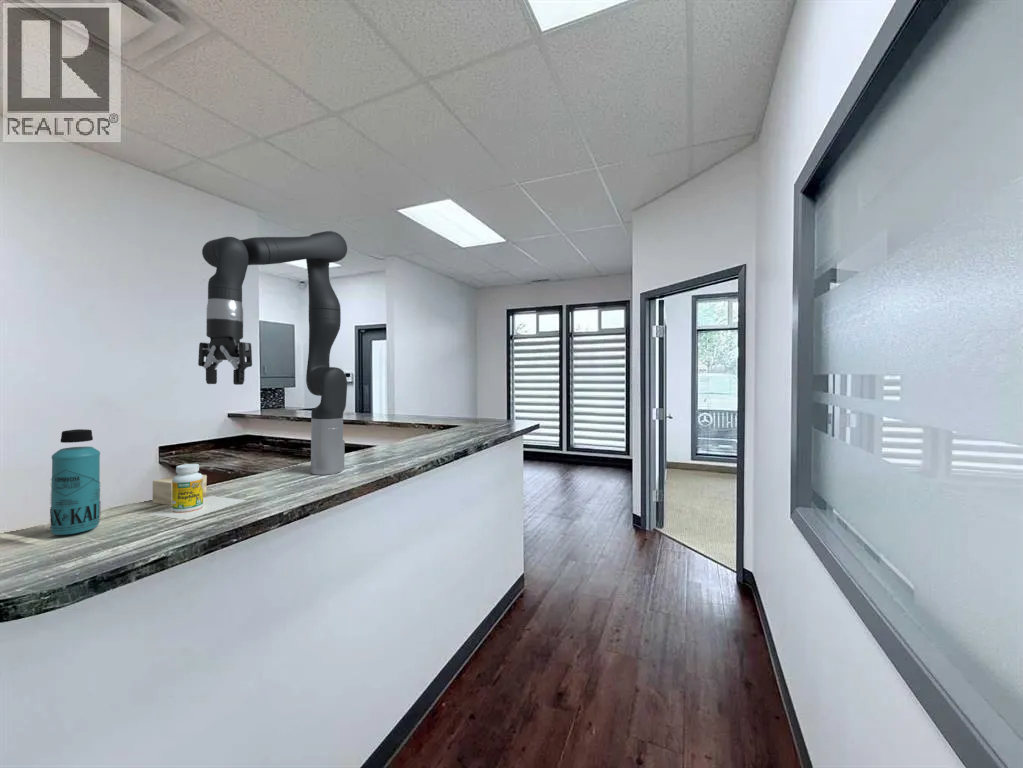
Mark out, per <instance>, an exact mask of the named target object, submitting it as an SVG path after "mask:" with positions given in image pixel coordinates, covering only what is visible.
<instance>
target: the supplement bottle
mask: <svg viewBox="0 0 1023 768" xmlns="http://www.w3.org/2000/svg"><path fill="white" fill-rule="evenodd" d="M199 471H200V465H199V463H184V464H181V465H179V464H178V465H177V466H176V467H175V472H176V475H174V476H175V477H174V478H173V479H172V505H171V507H172V509H173V511H175V512H188V511H193V510H196V509H199V508H201V507H202V506H203V498H204V497H203V475H204V474H202V473H201V472H199Z"/></svg>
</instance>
